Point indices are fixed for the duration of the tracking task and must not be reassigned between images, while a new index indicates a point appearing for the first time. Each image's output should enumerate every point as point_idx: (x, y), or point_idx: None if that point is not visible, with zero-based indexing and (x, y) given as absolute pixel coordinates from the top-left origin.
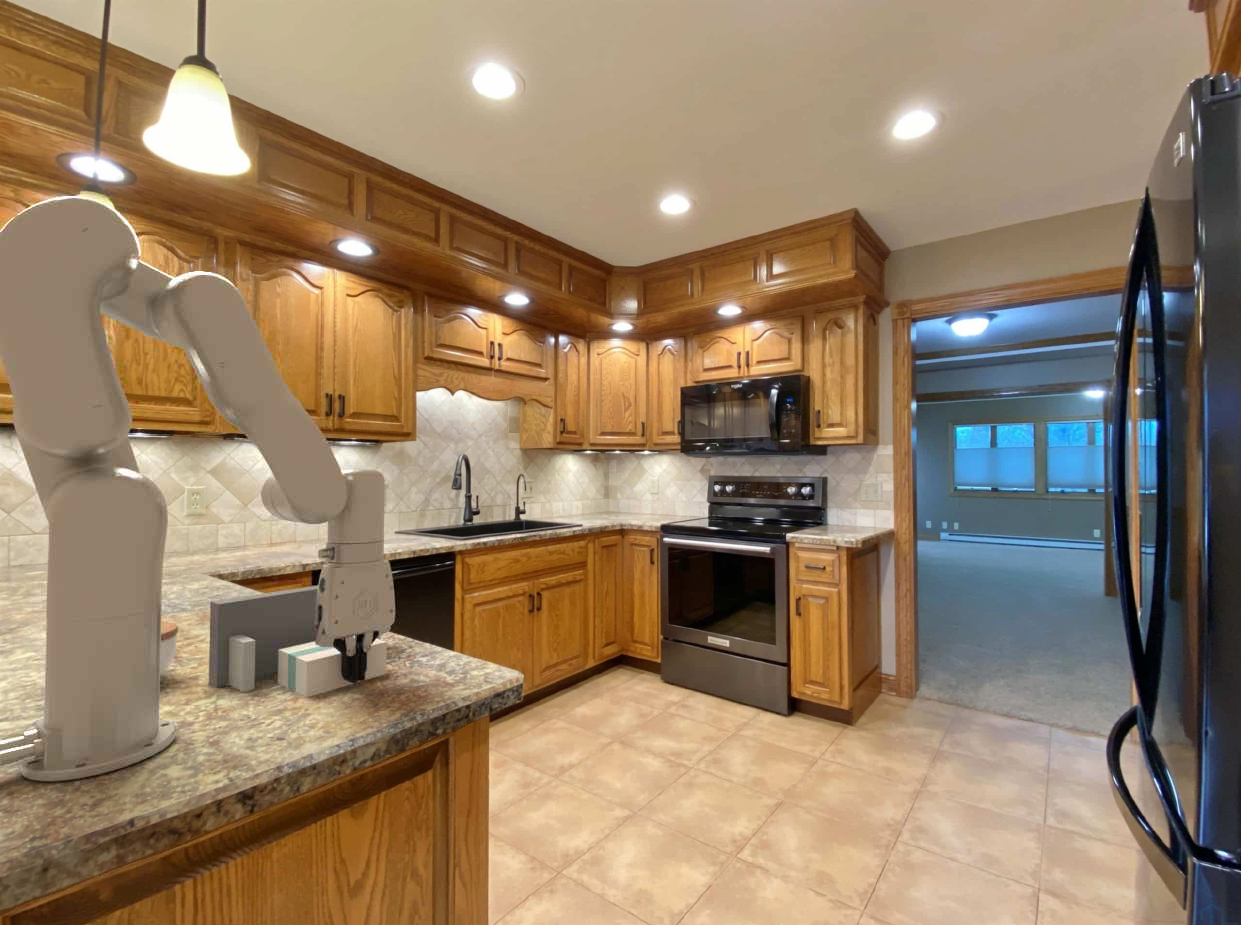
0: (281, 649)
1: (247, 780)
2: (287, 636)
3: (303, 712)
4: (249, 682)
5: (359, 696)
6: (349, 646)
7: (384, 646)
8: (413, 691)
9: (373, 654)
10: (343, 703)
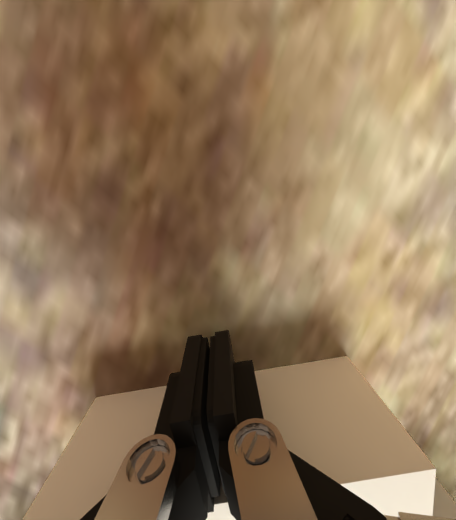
0: None
1: None
2: None
3: (404, 244)
4: (437, 504)
5: (230, 260)
6: (276, 483)
7: (40, 506)
8: (59, 174)
9: (109, 468)
10: (290, 234)
